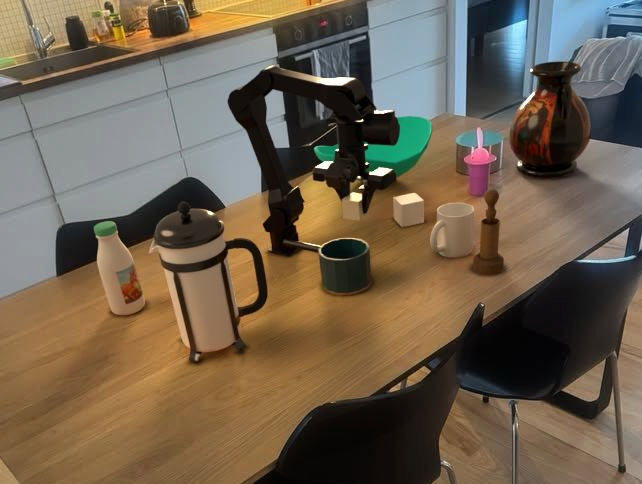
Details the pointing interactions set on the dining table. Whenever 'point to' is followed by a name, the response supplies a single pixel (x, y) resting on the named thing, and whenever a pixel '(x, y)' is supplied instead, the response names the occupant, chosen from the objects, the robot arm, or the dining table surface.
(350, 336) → the dining table surface
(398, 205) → the white cube
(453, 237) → the mug
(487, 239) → the mortar and pestle
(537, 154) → the amphora vase
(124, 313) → the milk bottle
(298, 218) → the robot arm
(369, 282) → the saucepan
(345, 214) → the block
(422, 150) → the table top decor
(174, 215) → the coffee press
